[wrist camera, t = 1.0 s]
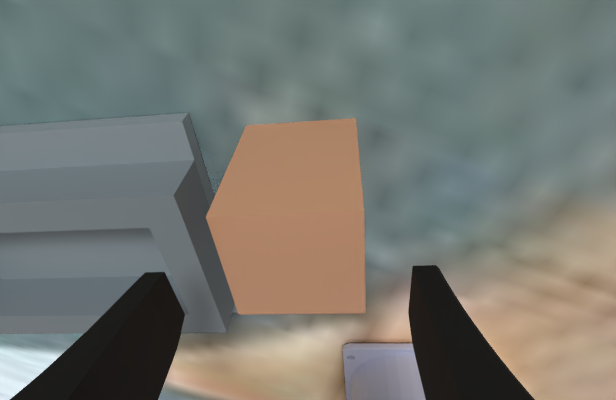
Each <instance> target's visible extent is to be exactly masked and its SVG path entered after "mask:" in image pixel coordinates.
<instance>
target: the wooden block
mask: <svg viewBox="0 0 616 400" xmlns="http://www.w3.org/2000/svg"><path fill="white" fill-rule="evenodd" d="M206 219H207V222H208V225H209V228H210V231H211V234H212V237H213V240H214V243H215V246H216V249H217V252H218V255H219V258H220V261H221V264H222V267H223V270H224V273H225V276H226V278H227V281H228V284H229V287H230V290H231V293H232V296H233V299H234V302H235V305H236V308H237V311H238V314H333V313H366V300H365V234H364V204H363V193H362V182H361V171H360V160H359V149H358V138H357V127H356V118H353V119H338V120H322V121H307V122H292V123H277V124H262V125H247V126H246V127H245V129H244V132H243V134H242V136H241V138H240V141H239V143H238V145H237V147H236V150H235V152H234V154H233V157H232V159H231V161H230V163H229V166H228V168H227V170H226V172H225V175H224V177H223V179H222V181H221V184H220V186H219V188H218V191H217V193H216V195H215V197H214V200H213V202H212V204H211V206H210V209H209V211H208V213H207V215H206Z"/></svg>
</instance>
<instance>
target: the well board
mask: <svg viewBox="0 0 616 400" xmlns="http://www.w3.org/2000/svg"><path fill="white" fill-rule="evenodd" d="M213 200H214V194H213V191H212V188H211V184H210V181H209V178H208V175H207V171H206V168H205V165H204V162H203V158H202V155H201V152H200V149H199V145H198V142H197V139H196V136H195V132H194V129H193V126H192V123H191V119H190V116H189V113H178V114H164V115H150V116H136V117H122V118H108V119H94V120H80V121H66V122H52V123H38V124H24V125H10V126H0V334H42V333H85V332H86V331H87V330H88V329H89V328H90V327H91V326H92V325H93V324H94V323H95V322H96V321H97V320H98V319H99V318H100V317H101V316H102V315H103V314H104V313H105V312H106V311H107V310H108V309H109V308H110V307H111V306H112V305H113V304H114V303H115V302H116V301H117V300H118V299H119V298H120V297H121V296H122V295H123V294H124V293H125V292H126V291H127V290H128V289H129V288H130V287H131V286H132V285H133V284H134V283H135V282H136V281H137V280H138V279H139V278H140V277H141V276H142V275H143V274H144V273H145V272H165V274H166V276H167V278H168V280H169V282H170V284H171V286H172V288H173V290H174V292H175V295H176V297H177V299H178V301H179V303H180V305H181V307H182V309H183V311H184V313H185V317H184V322H183V326H182V330H181V333H227V330H228V326H229V323H230V319H231V315H232V313H238V311H237V308H236V305H235V302H234V299H233V296H232V293H231V290H230V287H229V284H228V281H227V278H226V276H225V273H224V270H223V267H222V264H221V261H220V258H219V255H218V252H217V249H216V246H215V243H214V240H213V237H212V234H211V231H210V228H209V225H208V222H207V219H206V215H207V213H208V211H209V209H210V206H211V204H212V202H213Z"/></svg>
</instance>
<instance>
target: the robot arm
mask: <svg viewBox="0 0 616 400" xmlns="http://www.w3.org/2000/svg"><path fill="white" fill-rule="evenodd" d="M184 317H185V313H184V311H183V309H182V307H181V305H180V303H179V301H178V299H177V297H176V295H175V292H174V290H173V288H172V286H171V284H170V282H169V280H168V278H167V276H166V274H165V272H145V273H144V274H143V275H142V276H141V277H140V278H139V279H138V280H137V281H136V282H135V283H134V284H133V285H132V286H131V287H130V288H129V289H128V290H127V291H126V292H125V293H124V294H123V295H122V296H121V297H120V298H119V299H118V300H117V301H116V302H115V303H114V304H113V305H112V306H111V307H110V308H109V309H108V310H107V311H106V312H105V313H104V314H103V315H102V316H101V317H100V318H99V319H98V320H97V321H96V322H95V323H94V324H93V325H92V326H91V327H90V328H89V329H88V330H87V331H86V332H85V333H84V334H83V335H82V336H81V337H80V338H79V339H78V340H77V341H76V342H75V343H74V344H73V345H72V346H71V347H70V348H68V349H67V350H66V351H65V352H64V353H63V354H62V355H61V356H60V357H59V358H58V359H57V360H56V361H54V362H53V363H52V364H51V365H50V366H49V367H48V368H47V369H46V370H45V371H43V372H42V373H41V374H40V375H39V376H38V377H37V378H35V379H34V380H33V381H32V382H31V383H30V384H28V385H27V386H26V387H25V388H23V389H22V390H21V391H20V392H19V393H17V394H16V395H15V396H14V397H13V398H11V399H10V400H158V398H159V395H160V393H161V390H162V387H163V385H164V382H165V379H166V377H167V374H168V371H169V369H170V366H171V363H172V361H173V358H174V355H175V352H176V350H177V346H178V342H179V339H180V335H181V330H182V326H183V322H184ZM409 320H410V328H411V335H412V342H413V343H349V344H345V345H344V346H343V363H344V375H345V388H346V400H535V399H534V398H533V397H532V396H531V395H530V394H529V393H528V391H527V390H526V389H525V388H524V387H523V386H522V384H521V383H520V382H519V381H518V380H517V379H516V377H515V376H514V375H513V374H512V373H511V371H510V370H509V369H508V368H507V366H506V365H505V364H504V363H503V361H502V360H501V359H500V358H499V356H498V355H497V354H496V352H495V351H494V350H493V349H492V347H491V346H490V345H489V343H488V342H487V341H486V339H485V338H484V337H483V335H482V334H481V332H480V331H479V330H478V328H477V327H476V325H475V324H474V323H473V321H472V320H471V318H470V317H469V316H468V314H467V313H466V311H465V310H464V308H463V307H462V305H461V304H460V302H459V301H458V299H457V297H456V296H455V294H454V293H453V291H452V290H451V288H450V286H449V285H448V283H447V281H446V280H445V278H444V276H443V274H442V273H441V271H440V269H439V268H438V267H437V266H436V265H432V266H413V269H412V280H411V290H410V301H409Z"/></svg>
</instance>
